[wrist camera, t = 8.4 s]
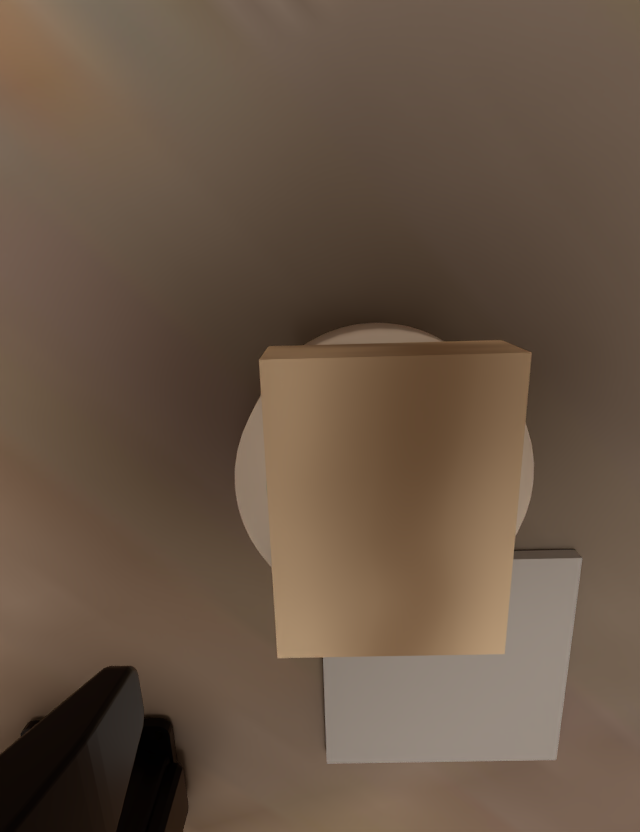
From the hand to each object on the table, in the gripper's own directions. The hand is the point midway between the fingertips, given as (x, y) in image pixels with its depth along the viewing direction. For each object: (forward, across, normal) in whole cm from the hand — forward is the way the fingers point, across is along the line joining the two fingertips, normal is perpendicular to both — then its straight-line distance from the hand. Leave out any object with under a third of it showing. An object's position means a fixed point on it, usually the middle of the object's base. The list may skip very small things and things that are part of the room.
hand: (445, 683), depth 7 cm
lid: (+7, 0, 0) cm, 7 cm away
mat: (+12, -3, +10) cm, 16 cm away
